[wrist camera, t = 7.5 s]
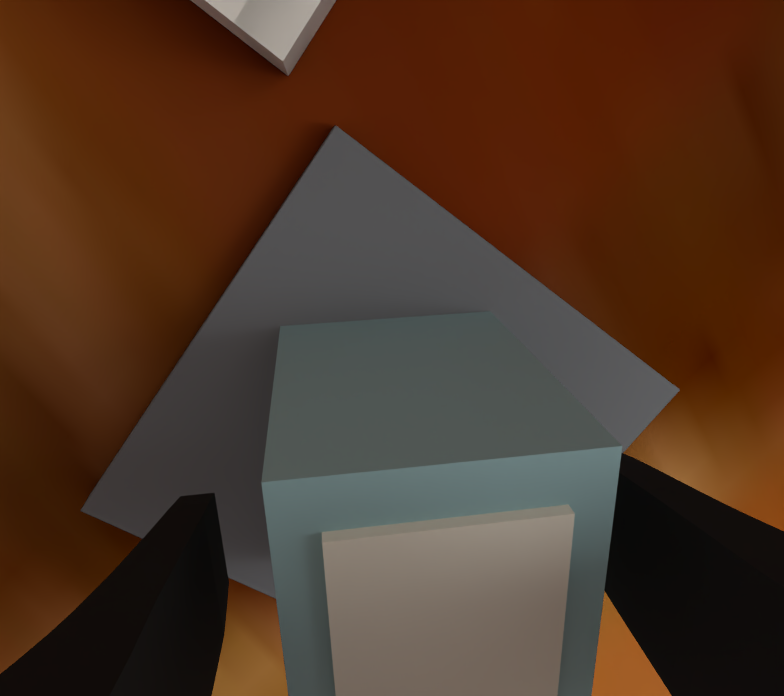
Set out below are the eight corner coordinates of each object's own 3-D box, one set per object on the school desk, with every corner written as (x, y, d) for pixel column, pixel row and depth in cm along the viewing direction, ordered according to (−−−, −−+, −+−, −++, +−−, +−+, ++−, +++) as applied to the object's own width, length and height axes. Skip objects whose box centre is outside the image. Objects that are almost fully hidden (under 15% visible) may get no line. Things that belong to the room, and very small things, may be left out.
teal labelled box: (490, 311, 13) (630, 454, 7) (483, 537, 15) (588, 780, 10) (280, 325, 12) (259, 491, 7) (304, 558, 15) (303, 828, 9)
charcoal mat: (665, 379, 15) (679, 390, 14) (424, 649, 17) (429, 667, 16) (334, 125, 12) (336, 125, 11) (89, 495, 14) (80, 510, 13)
